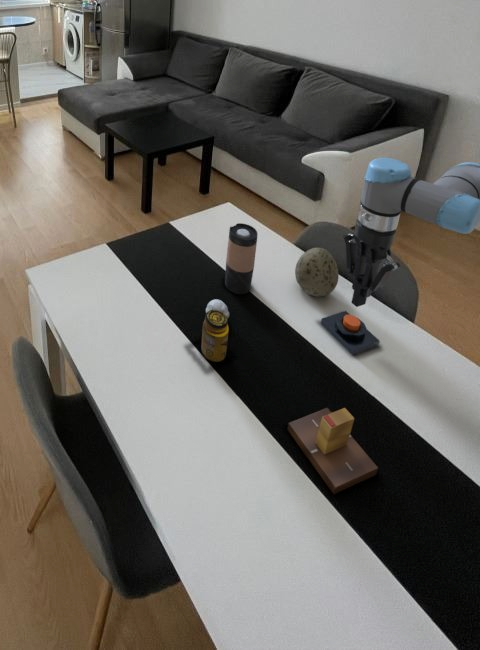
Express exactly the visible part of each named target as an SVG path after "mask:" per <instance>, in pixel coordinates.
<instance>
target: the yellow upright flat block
mask: <svg viewBox="0 0 480 650" xmlns="http://www.w3.org/2000/svg"><path fill="white" fill-rule="evenodd" d="M354 422H355V417H354V416H353V415H352V414H351V412H349V410H347V408H346V407H343V408H341V409H338V410H335V411H332V413H331V414H328V415H326V416H323V417H322V419H321V424H320V428H319V432H318V436H317V440H316V444H317V445H318V447H319V448H320V449H321V451H322V452H323V453H324V455H325V454H327V453H329V452H332V451H334V450H336V449H339V448H341V447H343V446H346V445H347V443H348V439H349V436H350V435H351V432H352V430H353V426H354Z"/></svg>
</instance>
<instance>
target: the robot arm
mask: <svg viewBox="0 0 480 650" xmlns="http://www.w3.org/2000/svg"><path fill="white" fill-rule="evenodd" d="M411 172H412V169H411V167H410V165H408V164H407V163H405V162H403V161H401V160H399V159H394V158H390V157H377V158H375V159H373V160H370V162H369V164H368V165H367V170H366V173H365V176H364V179H363V180H364V181H363V186H362V187H363V188H362V193H361V198H360V202H359V208H358V213H357V219H356V221H355V225H354V232H350V233H347V234H343V236H342V237H343V241H344V244H345V259H346V261H345V262H346V272H347V273H348V274H349V275H351V276H352V279H353V281H352V285H351V289H352V290H353V293H352V298H351V304H352V305H353V306H355V307H356V308H359V307H361V306H364V305H366V304H367V300H368V298H370V297H371V295H372V292H375V291H379V290H381V289H383V287H384V286H385V284H386V283H387V281H388V280H389V279H390V277H391V275H392V274H393V272H394V271H395V270H397V269H400V268H401V264H400V263H399V262H398V261H394V259H393V258H392V257H391V256H392V251H391V247H392V245H393V244H394V241H395V237H396V233H397V228H398V226H399V221H400V217H401V214H402V213H401V212H404V213H405V214H409V215H411V216H414V217H416V218H418V219H420V220H423V221H425V222H429V223H431V224H433V225H435V226H438V227H440V228H442V229H446V230H450V231H453V232H456V233H459V234H461V235H467V234H471V233H472V232H473V231H474V230H475V228H476V227H477V225H478V223H479V222H480V163H477V162H471V161H467V162H461V163H459V164H456V165H454V166H452V167H451V168H449V169H448V170H447V171H446V172H445V173H444V174H443V175H442V176H440V177H439V178H438V179H437V180H436V181H434V182H433V183H432V182H429V181H425V180H421V179H419V178H417V177H414V176H412V173H411ZM382 261H384V262H383V263H382ZM381 263H382V267H381V268H380V264H381ZM379 268H380V269H379Z"/></svg>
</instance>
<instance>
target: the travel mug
mask: <svg viewBox="0 0 480 650" xmlns="http://www.w3.org/2000/svg"><path fill="white" fill-rule="evenodd" d="M257 242H258V231H257V229H256V228H255V227H254V226H252V225H250V224H247V223H241V222H239V223H236V224H235V225H233V226H230V227H229V231H228V241H227V248H226V257H225V258H226V259H225V276H224V286H225V287H226V289H227V290H228V291H230V292H231V293H233V294H235V295H246V294H248V293H249V292H250V291H251V286H252V281H253V276H254V270H255V261H256V253H257V245H258V243H257Z"/></svg>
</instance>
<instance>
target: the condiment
mask: <svg viewBox="0 0 480 650" xmlns="http://www.w3.org/2000/svg"><path fill="white" fill-rule="evenodd" d="M229 332H230V330H229V318H228V319H227V316H226V315H225V314H224V313H223V312H221V311H219V310H210V311H208V312H207V313H206V312H205V316H204V321H203V322H202V332H201V333H202V334H201V335H202V336H201V346H200V347H201V349H200V350H201V353H202V355H203V357H204V358H205V359H207V360H208V361H210V362H213V363H219V362H223V361H224V359H225V358H226V357H227V351H228V350H227V349H228V341H229V334H230V333H229Z"/></svg>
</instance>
